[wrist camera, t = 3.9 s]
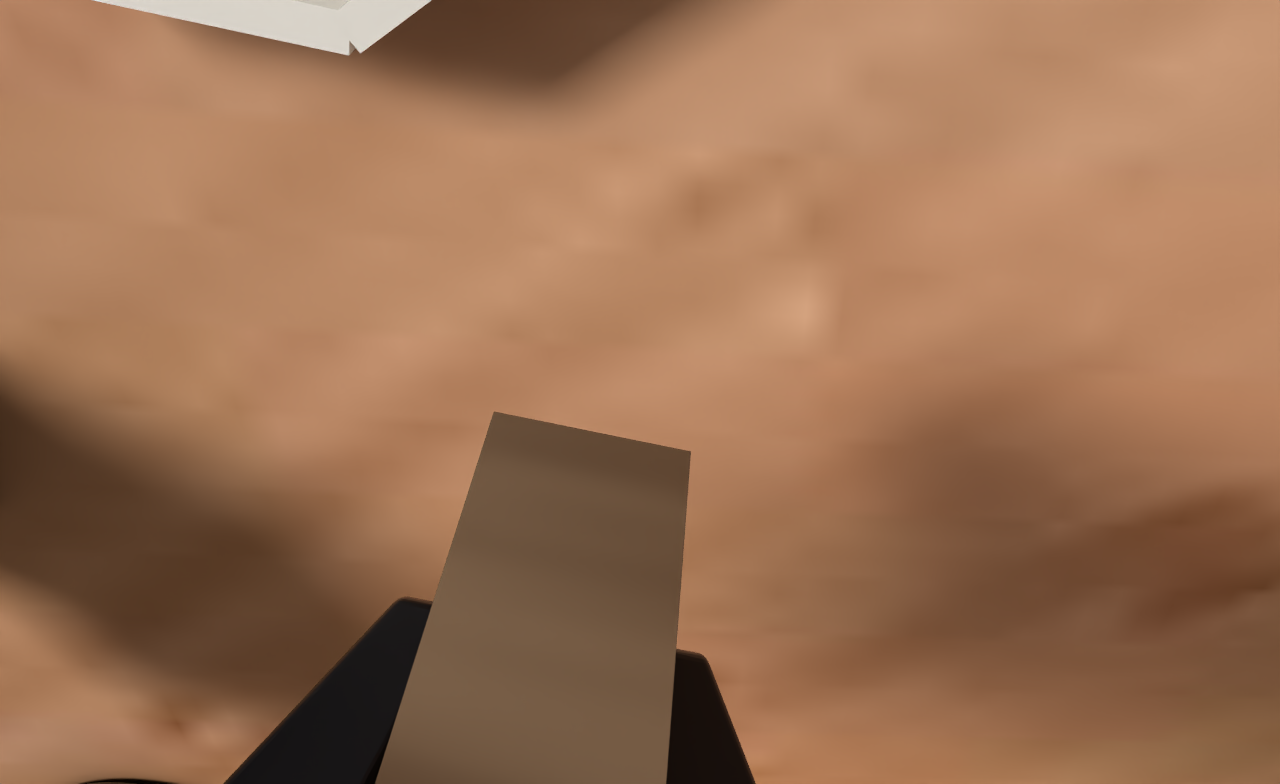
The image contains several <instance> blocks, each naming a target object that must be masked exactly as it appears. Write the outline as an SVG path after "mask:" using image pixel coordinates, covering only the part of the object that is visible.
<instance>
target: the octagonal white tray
mask: <svg viewBox="0 0 1280 784" xmlns="http://www.w3.org/2000/svg"><path fill="white" fill-rule="evenodd" d="M94 1H98V2H103V3H108V4H112V5H117V6H122V7H126V8H131V9H136V10H140V11H145V12H149V13H154V14H159V15H163V16H168V17H173V18H177V19H182V20H186V21H191V22H196V23H200V24H205V25H210V26H214V27H219V28H224V29H228V30H233V31H237V32H242V33H247V34H251V35H256V36H261V37H265V38H270V39H274V40H279V41H284V42H288V43H293V44H298V45H302V46H307V47H311V48H316V49H321V50H325V51H330V52H335V53H339V54H344V55H350V54H351V53H352V52H353V51H354V50H355V48H356V49H357V50H358V51H359V52H360V53H362V52H363V51H364V50H366V49H367V48H368V47H370V46H371V45H372V44H374V43H375V42H376V41H378V40H379V39H380V38H382V37H383V36H384V35H386V34H387V33H388V32H390V31H391V30H392V29H394V28H395V27H396V26H398V25H399V24H400V23H402V22H403V21H405V20H406V19H407V18H409V17H410V16H411V15H413V14H414V13H415V12H417V11H418V10H419V9H421V8H422V7H423V6H425V5H426V4H427V3H429V2H430V1H431V0H94Z"/></svg>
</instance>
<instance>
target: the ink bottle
mask: <svg viewBox="0 0 1280 784" xmlns="http://www.w3.org/2000/svg"><path fill="white" fill-rule="evenodd" d="M89 784H135V783H119V782H103V783H89Z"/></svg>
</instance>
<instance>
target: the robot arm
mask: <svg viewBox="0 0 1280 784" xmlns="http://www.w3.org/2000/svg"><path fill="white" fill-rule="evenodd" d="M432 604H433V602H432V601H427V600H422V599H417V598H412V597H402V598H400V599H398V600H397V601H395V602H394V603H393V604H392V605H391V606H390V607H389V608H388V609H387V610H386V611H385V612H384V613H383V615H382V616H381V617H380V618H379V619H378V620H377V621H376V622H375V623H374V624H373V625H372V626H371V627H370V628H369V629H368V630H367V632H366V633H365V634H364V635H363V636H362V637H361V638H360V639H359V640H358V641H357V642H356V643H355V644H354V645H353V646H352V647H351V649H350V650H349V651H348V652H347V653H346V654H345V655H344V656H343V657H342V658H341V659H340V660H339V661H338V662H337V663H336V664H335V666H334V667H333V668H332V669H331V670H330V671H329V672H328V673H327V674H326V675H325V676H324V677H323V678H322V679H321V680H320V682H319V683H318V684H317V685H316V686H315V687H314V688H313V689H312V690H311V691H310V692H309V693H308V694H307V695H306V696H305V697H304V699H303V700H302V701H301V702H300V703H299V704H298V705H297V706H296V707H295V708H294V709H293V710H292V711H291V712H290V713H289V714H288V716H287V717H286V718H285V719H284V720H283V721H282V722H281V723H280V724H279V725H278V726H277V727H276V728H275V729H274V730H273V731H272V733H271V734H270V735H269V736H268V737H267V738H266V739H265V740H264V741H263V742H262V743H261V744H260V745H259V746H258V747H257V748H256V750H255V751H254V752H253V753H252V754H251V755H250V756H249V757H248V758H247V759H246V760H245V761H244V762H243V763H242V764H241V765H240V767H239V768H238V769H237V770H236V771H235V772H234V773H233V774H232V775H231V776H230V777H229V778H228V779H227V780H226V781H225V782H224V784H375V782H376V779H377V776H378V773H379V770H380V767H381V764H382V760H383V757H384V754H385V751H386V748H387V745H388V742H389V739H390V735H391V732H392V729H393V726H394V723H395V720H396V717H397V713H398V710H399V707H400V704H401V701H402V698H403V695H404V692H405V688H406V685H407V682H408V679H409V676H410V673H411V670H412V667H413V663H414V660H415V657H416V654H417V651H418V648H419V645H420V642H421V638H422V635H423V632H424V629H425V626H426V623H427V620H428V616H429V613H430V610H431V607H432ZM666 784H756V783H755V781H754V778H753V775H752V773H751V770H750V768H749V765H748V763H747V760H746V757H745V755H744V752H743V750H742V747H741V745H740V742H739V739H738V737H737V734H736V732H735V729H734V726H733V724H732V721H731V719H730V716H729V714H728V711H727V708H726V706H725V703H724V701H723V698H722V695H721V693H720V690H719V688H718V685H717V683H716V680H715V677H714V675H713V672H712V670H711V667H710V665H709V663H708V661H707V659H706V658H705V657H704V656H703V655H702V654H699V653H695V652H690V651H685V650H680V649H676V657H675V671H674V684H673V697H672V711H671V724H670V738H669V751H668V765H667V778H666Z"/></svg>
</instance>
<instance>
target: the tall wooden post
mask: <svg viewBox="0 0 1280 784" xmlns="http://www.w3.org/2000/svg"><path fill="white" fill-rule="evenodd" d="M690 455H691V452H690V451H685V450H680V449H676V448H671V447H666V446H661V445H656V444H651V443H646V442H641V441H636V440H631V439H626V438H621V437H617V436H612V435H607V434H602V433H597V432H592V431H587V430H582V429H577V428H572V427H567V426H562V425H557V424H553V423H548V422H543V421H538V420H533V419H528V418H523V417H518V416H513V415H508V414H503V413H498V412H494V413H493V416H492V419H491V422H490V426H489V429H488V432H487V435H486V438H485V441H484V444H483V447H482V451H481V454H480V457H479V460H478V463H477V466H476V469H475V473H474V476H473V479H472V482H471V485H470V488H469V491H468V494H467V498H466V501H465V504H464V507H463V510H462V513H461V516H460V519H459V523H458V526H457V529H456V532H455V535H454V538H453V541H452V544H451V548H450V551H449V554H448V557H447V560H446V563H445V566H444V570H443V573H442V576H441V579H440V582H439V585H438V588H437V591H436V595H435V598H434V601H433V604H432V607H431V610H430V613H429V616H428V620H427V623H426V626H425V629H424V632H423V635H422V638H421V642H420V645H419V648H418V651H417V654H416V657H415V660H414V663H413V667H412V670H411V673H410V676H409V679H408V682H407V685H406V688H405V692H404V695H403V698H402V701H401V704H400V707H399V710H398V713H397V717H396V720H395V723H394V726H393V729H392V732H391V735H390V739H389V742H388V745H387V748H386V751H385V754H384V757H383V760H382V764H381V767H380V770H379V773H378V776H377V779H376V782H375V784H666V778H667V765H668V751H669V738H670V724H671V711H672V697H673V684H674V671H675V657H676V644H677V630H678V617H679V603H680V590H681V576H682V563H683V549H684V536H685V522H686V509H687V495H688V482H689V469H690Z"/></svg>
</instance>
